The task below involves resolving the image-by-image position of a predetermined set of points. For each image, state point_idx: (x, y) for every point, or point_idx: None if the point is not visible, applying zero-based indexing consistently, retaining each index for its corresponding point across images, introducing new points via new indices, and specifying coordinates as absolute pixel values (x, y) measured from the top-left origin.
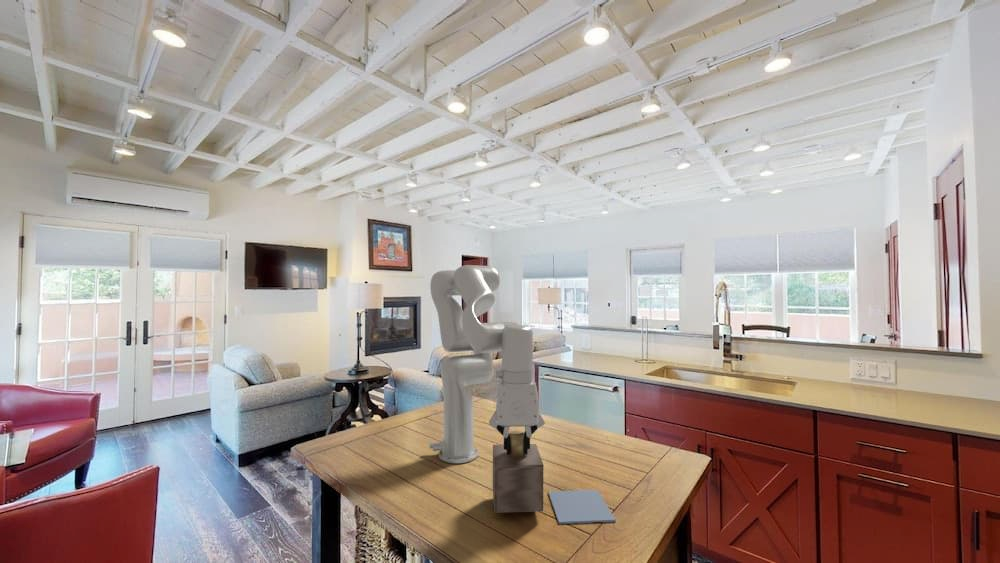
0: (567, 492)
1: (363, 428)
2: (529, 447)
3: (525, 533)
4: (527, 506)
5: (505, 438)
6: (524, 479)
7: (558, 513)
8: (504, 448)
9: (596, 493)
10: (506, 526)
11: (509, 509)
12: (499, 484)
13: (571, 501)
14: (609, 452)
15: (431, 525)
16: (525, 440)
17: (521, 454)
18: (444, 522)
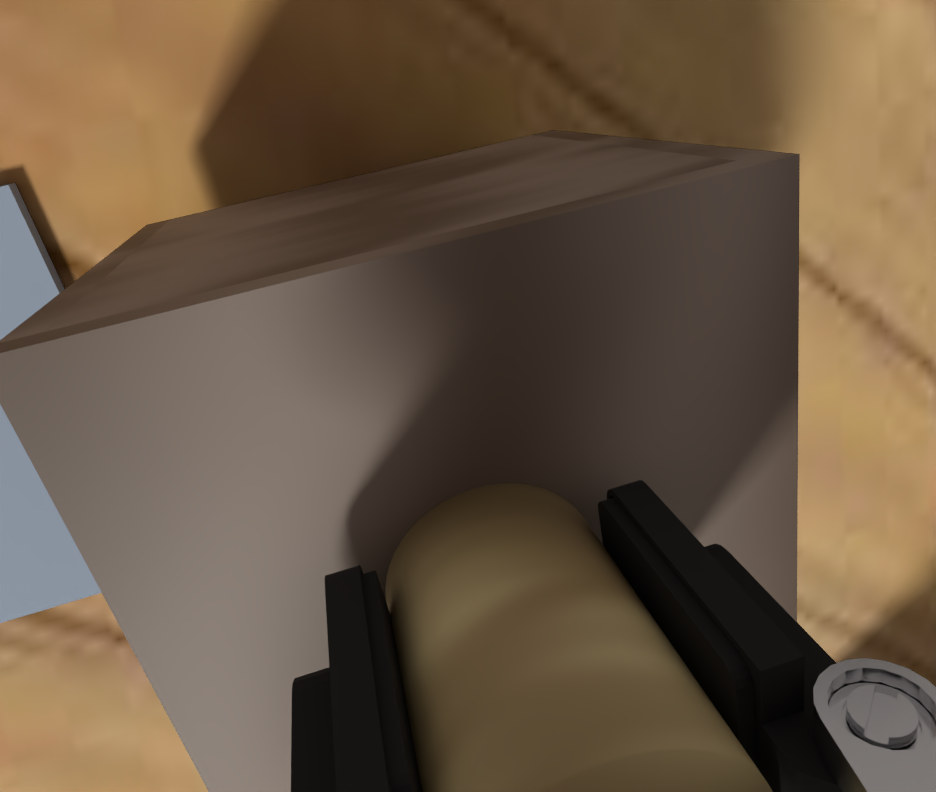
0: (30, 590)
1: None
2: (301, 689)
3: (273, 13)
4: (284, 198)
5: (815, 675)
6: (318, 228)
7: (41, 305)
8: (716, 549)
9: None
10: (435, 90)
11: (438, 160)
12: (605, 152)
13: None
14: None
15: (926, 29)
16: (383, 751)
17: (421, 544)
18: (851, 76)
